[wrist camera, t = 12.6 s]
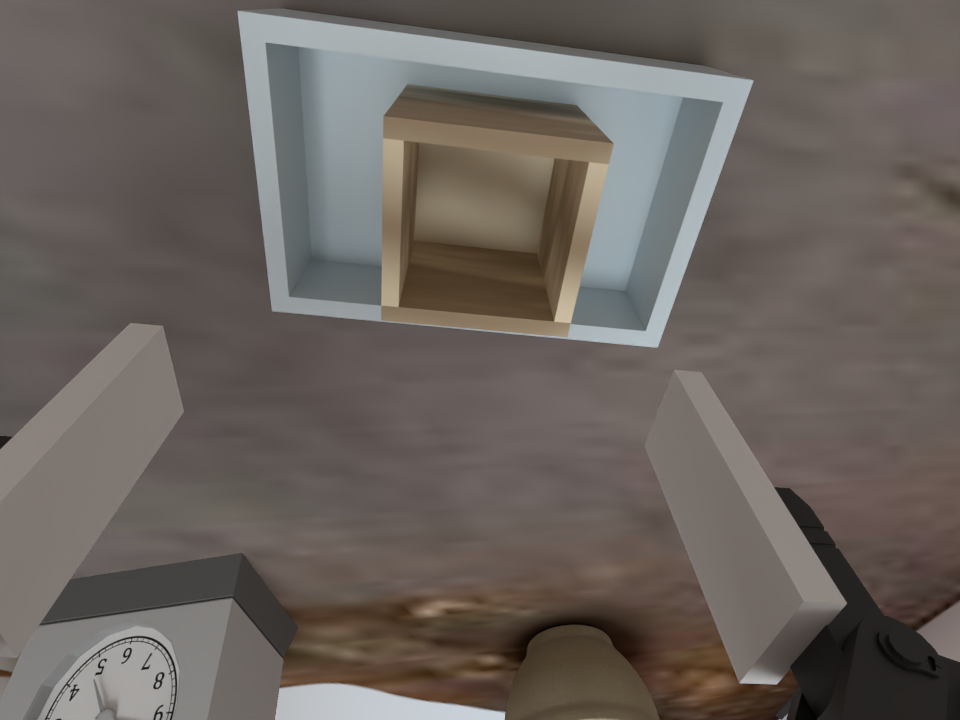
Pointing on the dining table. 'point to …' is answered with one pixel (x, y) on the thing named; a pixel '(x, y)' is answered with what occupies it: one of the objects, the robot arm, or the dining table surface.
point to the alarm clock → (156, 647)
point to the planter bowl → (577, 680)
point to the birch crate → (487, 209)
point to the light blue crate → (488, 70)
